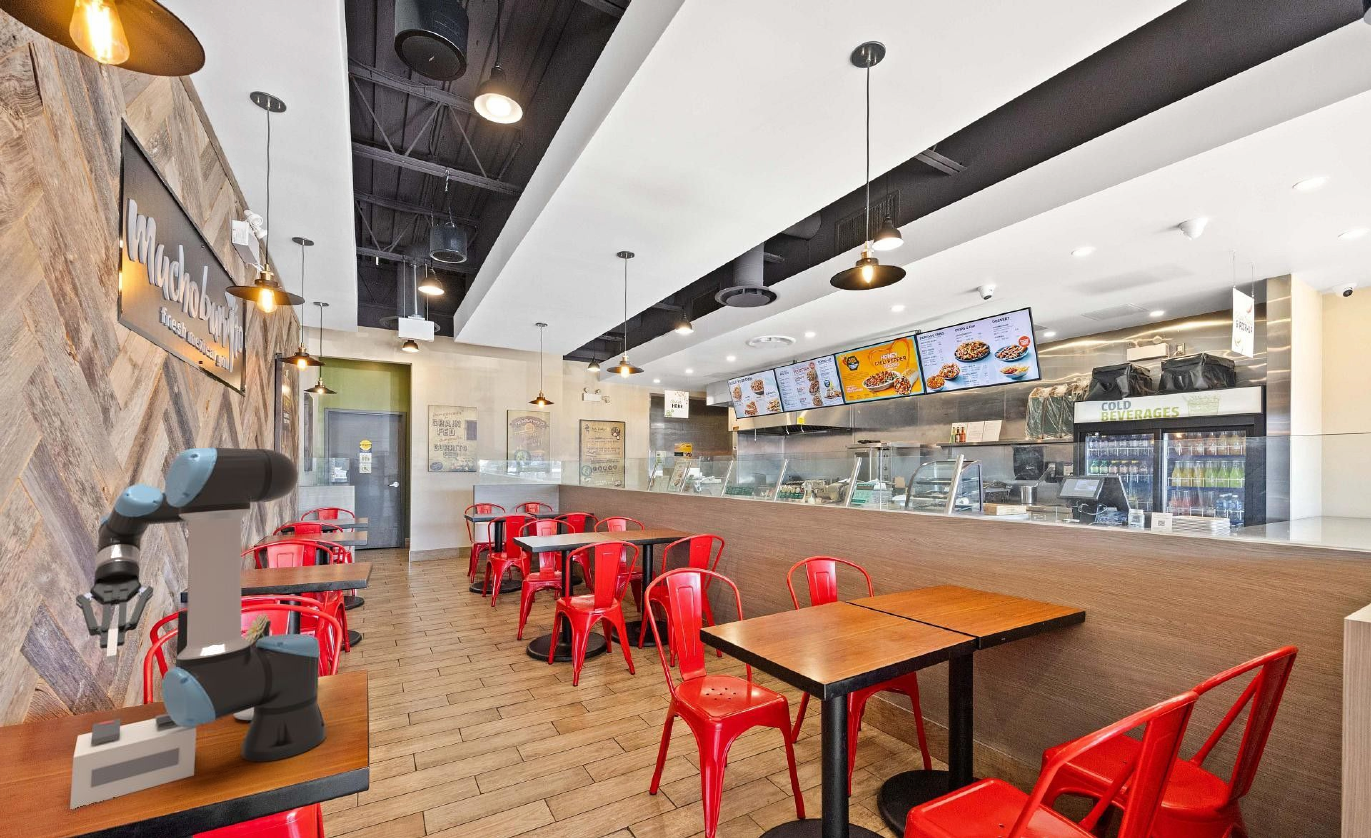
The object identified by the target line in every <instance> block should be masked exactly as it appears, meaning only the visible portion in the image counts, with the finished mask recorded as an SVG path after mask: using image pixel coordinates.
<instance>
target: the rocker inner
mask: <svg viewBox="0 0 1371 838" xmlns="http://www.w3.org/2000/svg"><path fill="white" fill-rule="evenodd" d="M155 718H156V719H155ZM155 718H154V719H155V722H156V724H158V723H162V722H167V721H171V720H172V719H171V717H170V716H169V714H168V712H167V713H166V712H165V713H162V714H159V715H155Z"/></svg>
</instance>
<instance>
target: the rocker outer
mask: <svg viewBox="0 0 1371 838" xmlns="http://www.w3.org/2000/svg"><path fill="white" fill-rule="evenodd" d="M121 719H122V718H121V717H119V718H114V719H110V720H105V721H100V722H96V723H93V724H92V730H91V731H92V732H91V733H92V739H91V745H92V744H97V743H101V742H105V741H109V740H114V739H118V738H119V737H120V726H121Z"/></svg>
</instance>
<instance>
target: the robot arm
mask: <svg viewBox="0 0 1371 838" xmlns="http://www.w3.org/2000/svg"><path fill="white" fill-rule="evenodd" d="M165 479H166V480H165V485H164V492H162V491H161V490H160V489H159V488H158V487H156V486H153V485H148V484H147V483H146V484H144V483H138V484H137V483H136V484H132V485H130V486H128V487H127V488H125V489H124V490H123V491H122V493H120V495H119V496H118V498H117V500H116V501H115V503H114V506H113V507H112V510H111V513H109V514H108V515H105V516H104V517H102V519H101V521H100V525H99V528H98V529H97V533H98V540H97V541H98V542H97V552H96V553H97V554H96V557H95V559H96V561H95V569H94V570H95V572H94V581H93V586H92V588H90V591H89V592H87V593H85V594H78V595H76V597H75V604H76V606H77V608H79V609H80V610H82V614H83V617H84V620H85V623H86V626H87V631H88V634H89V636H92V637H94V636H100V641H99V648H100V649H101V650H103V649H106V661H105V662H106V665H107V664H111V663H113V664H114V663H116V662H117V653H118V652H117V651H118V647H123V646H124V644H125V641H126V639H125V638H126V633H127V632H129V631H134V630H136V629H137V627H138V624H139V622H140V620H141V617H142V615H143V613H144V609H145V607H146V605H147V602H148V601H149V600H151V599H152V597H153V595H154V587H153V586H149V587H144V586H143V585H142V583H141V582H140V564H141V563H140V562H141V545H142V544H141V543H142V538H143V536H144V534H145V531H147V529H148V527H149V526H150V525H160V524H172V523H184V522H186V523H187V524H188V533H187V535H188V536H187V537H188V538H187V540H188V543H187V545H188V546H187V547H188V548H187V549H188V552H187V610H188V613H187V646H186V648H185V649H184V650H183V651H182V652H181V653H180V654H179V655H178V656H177V667H176V666H175V667H171V669H169V670H167V671H166V672H165V673H164V676H163V679H162V682H161V695H162V700H163V704H164V707H165V709H166V712H167V713H168V714H169V716H170V717H171V719H172V720H173V721H174V722H175V723H176V724H177V725H179V726H181V727H185V728H188V727H194V726H196V727H197V726H201V725H204V724H211V723H213V722H215V721H217V720H219V719H222V718H227V717H229V716H232V715H233V714H235V713H238V712H241V711H244V710H247V709H250V708H253V707H254V714H253V718H252V720H250V723H249V726H248V729H247V732H246V736H245V737H244V739H243V741H242V742H241V743H242V744H241V757H242V758H243V759H244V760H246V761H251V762H271V761H277V760H282V759H287V758H290V757H293V756H297V755H300V754H303V753H305V752H307V751H310V750H311V749H313V748H314V749H315V747H317V746H318V745H320V744H322V742H323V741H324V740H325V739H326V729H327V727H326V723H325V721H324V718H323V713H322V712H321V708H320V705H319V704H318V703H319V702H318V697H319V695H318V693H319V692H318V691H319V672H320V671H319V669H320V667H319V665H320V657H321V654H320V653H321V652H320V644H319V640H318V638H317V637H315V636H313V635H309V634H302V633H301V634H300V633H285V634H284V633H283V634H272V635H269V636H266V637H262V638H260V639H258V640H257V643H256V644H255V645H256V648H255V649H251V650H250V642H249V641H247V640H246V639H245V638H244V637H243V636H242V519H243V518H244V517H245V516H246V515H247V514H249V512H250V511H251V504H253V503H258V502H260V503H261V502H262V503H268V502H273V501H276V500H279V499H281V498H285V497H286V496H288V495H289V494H290V493H291V492H292V491H293V490H294V489H295V487H296V485H297V483H298V479H299V472H298V469H297V466H296V465H295V463H294V461H292V459H291V458H289V456H287V455H285V454H284V453H282V452H279V451H277V450H272V449H268V448H238V447H237V448H235V447H233V448H232V447H231V448H230V447H204V448H203V447H202V448H201V447H200V448H198V447H197V448H196V447H195V448H189V449H186V450H183V451H182V452H180V453H179V454H178V455H177V456H176V457H175V459H174V460H173V462H172V463H171V465H170V467H169V469H168V472H167V476H166V478H165ZM136 595H138V596H139V597H138V600H137V603H136V605H135V608H134V610H133V613H132V615H131V616H130V620H129V621H128V622H126V621H127V605H128V602H130V601H131V600H132V599H133V598H134V597H135V596H136ZM92 599H93V600H95V601H96V602H97V603H99V604H100V605H102V618H101V625H98V623H97V619H96V616H95V614H94V613H95V612H94V611H93V610H94V609H93V607H92V604H91V603H92ZM115 605H116V606H117V605H118V606H119V607H118V622H117V628H112V629H111V628H110V624H111V612H112V611H111V610H112V606H115Z"/></svg>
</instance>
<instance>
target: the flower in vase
mask: <svg viewBox="0 0 1371 838" xmlns="http://www.w3.org/2000/svg"><path fill="white" fill-rule="evenodd" d="M267 619H268V615H267V614H266V613H263V615H262V614H261V613H260V614H259V615H258V616H257V617H256V619H253V620H252V621H251V624H250V626H249V629H248V630H247V631H245V633H244V635H245V638H244V639H246V640H247V641H249V642H250V645H251V644H252V643H253V642H255V641H256V639H257V638H258V637H259V636H260V634H261V635H262V636H263V637H265V636H264V634H263V633H262V632H263V630H264V627H265V625H266V623H267ZM253 714H254V707H253V708H250V709H247V710H244V711H241V712H238V713H235V714H232V715H233V717H234V718H235V719H237V720H242V721H244V720H245V721H251V720H252V718H253Z"/></svg>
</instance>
